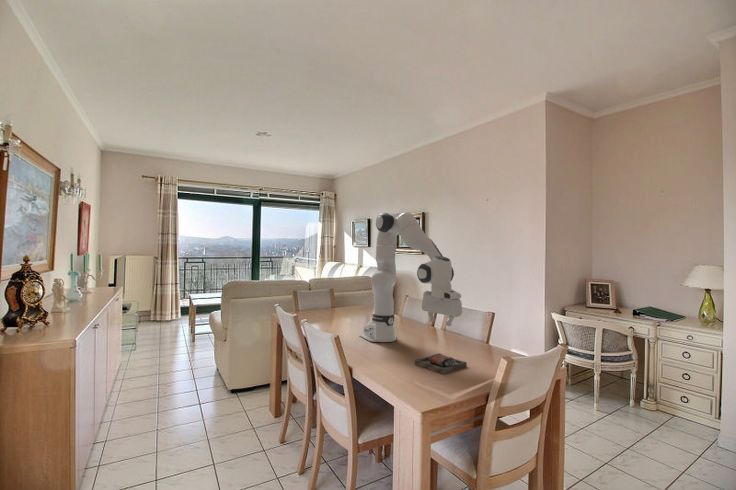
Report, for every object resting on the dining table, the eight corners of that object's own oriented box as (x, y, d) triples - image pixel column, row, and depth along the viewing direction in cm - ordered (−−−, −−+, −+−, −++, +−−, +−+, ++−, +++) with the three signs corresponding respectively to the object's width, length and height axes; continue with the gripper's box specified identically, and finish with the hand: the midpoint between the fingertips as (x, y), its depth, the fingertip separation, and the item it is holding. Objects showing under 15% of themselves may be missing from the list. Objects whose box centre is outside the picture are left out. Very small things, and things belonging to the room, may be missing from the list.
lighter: (428, 363, 157) (445, 369, 149) (428, 356, 157) (444, 361, 149) (441, 359, 162) (458, 365, 153) (441, 352, 161) (457, 357, 153)
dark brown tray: (415, 364, 158) (415, 360, 158) (438, 358, 168) (438, 353, 168) (443, 374, 145) (443, 369, 145) (466, 366, 156) (466, 362, 156)
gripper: (419, 290, 163) (418, 320, 163) (455, 295, 148) (454, 328, 147) (428, 290, 167) (427, 319, 167) (464, 295, 152) (463, 327, 151)
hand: (440, 323), depth 157 cm, fingers open, 8 cm apart
